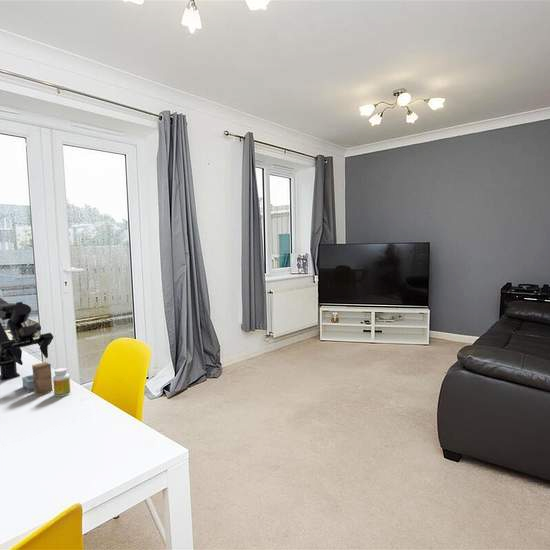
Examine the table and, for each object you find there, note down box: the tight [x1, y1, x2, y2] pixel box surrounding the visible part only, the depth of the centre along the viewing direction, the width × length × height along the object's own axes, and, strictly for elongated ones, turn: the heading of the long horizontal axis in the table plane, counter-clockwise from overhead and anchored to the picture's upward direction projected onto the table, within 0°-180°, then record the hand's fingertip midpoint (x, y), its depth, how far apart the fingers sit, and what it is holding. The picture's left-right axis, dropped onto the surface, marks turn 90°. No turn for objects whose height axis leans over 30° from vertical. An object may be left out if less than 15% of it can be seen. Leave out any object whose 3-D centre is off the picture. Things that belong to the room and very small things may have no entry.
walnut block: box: [31, 361, 54, 396], centre depth 146 cm, size 4×4×11 cm
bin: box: [21, 374, 34, 392], centre depth 152 cm, size 7×7×4 cm
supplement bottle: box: [52, 367, 71, 398], centre depth 144 cm, size 5×5×10 cm
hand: (34, 361), depth 148 cm, fingers open, 9 cm apart
